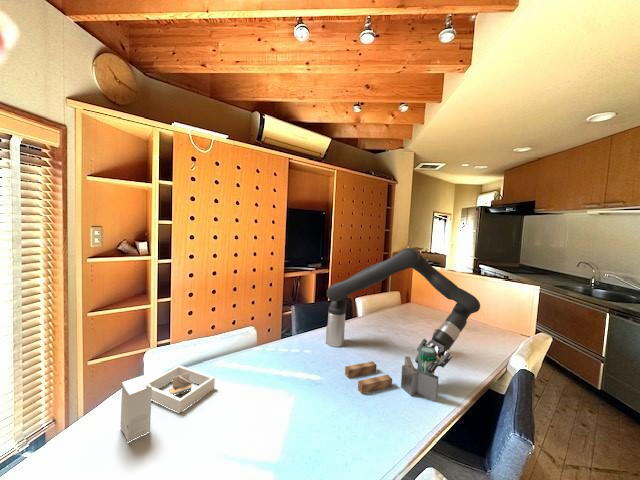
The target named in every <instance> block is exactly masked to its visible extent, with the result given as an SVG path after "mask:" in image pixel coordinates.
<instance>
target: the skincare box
mask: <svg viewBox="0 0 640 480" xmlns="http://www.w3.org/2000/svg"><path fill="white" fill-rule="evenodd" d="M148 382H149V380H148V379H146V378H145V375H140V376H138V377H133V378H131V379H128V380H125V381H122V382H121V384H122V385H121V405H120V407H121V408H120V409H121V410H120V427H121V429H122V430H121V429H120V430H121V432H122V431H123V432H124V434H125V436H124V438H125V437H126V438H125V440H126V439H127V441H126V443H127V442H129V441H131V440H133V439H135V438H137V437H139V436H141V435H144V434H146V433H147V432H150V433H151V419H152V418H151V414H152V402H151V397H152V386H151V385H150V384H149V383H148ZM120 427H119V428H120ZM123 432H122V433H123ZM124 434H123V435H124ZM146 435H147V434H146ZM144 436H145V435H144Z"/></svg>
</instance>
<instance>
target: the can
mask: <svg viewBox="0 0 640 480" xmlns="http://www.w3.org/2000/svg"><path fill="white" fill-rule="evenodd" d="M418 347H419V351H418V350H417V352H418V353H417V354H418V355H417V356H418V364H417V368H416V369H419V370H421V371H424V372H427V373H430V372H429V371H428V368H429V366H430V365H431V364H432V362H433V363H434V359H435V354H436V351H435V350H434V349H433V348H432V347H429V346H419V345H418ZM430 374H432V375H435V371H434V372H433V373H430Z"/></svg>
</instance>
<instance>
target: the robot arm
mask: <svg viewBox="0 0 640 480" xmlns="http://www.w3.org/2000/svg"><path fill="white" fill-rule="evenodd" d="M408 269H413V270H414V271H416V272H417V273H419V274H421V276H423V278H425V280H426V281H427V282H428V283H429V284H430V285H431V286H432V287H433V288H434V289H435V290H436V291H437V292H439V293H440V294H441V295H442V296H443V297H445V298H446V299H447V300H450V301H453V302H455V305H454V307H453V308H452V311H451V312H450V314H449V315H448V316H447V318H446V319H445V320H444V321H443V323H442V324H440V326H439V327H438V328H437V329H438V330H437V331H436V332H435V334H434V335H433V334H432V337H431V339H430V340H427V339H426V338H423V339H422V341H421V342H420V344H419V345H418V347H417V349H416V350H417V352H418V351H419V346H429V347H432V348H433V349H434V350H435V351H436V354H435V359H434V363H433V362H432V364H431V365H430V366H429V368H428V371H429V372H430V373H433V372H434V373H435V371H436V369H438V367H441V368H443V369H444V367H446V365H447V364H448V363H449V362H450V361H451V360H452V359H453V356H452V354H451V353H450V352H448V351H449V350H450V349H451V347H452V346H453V345H454V343H455V342H456V340H457V339H458V338H459V336H460V334H461V333H462V332H463V330H464V329H465V327H466V325H467V323H468V322H467V320H468V318H469V317H470V316H471V315H472V314H475V313H477V312H479V311H480V309H481V303H480V301H479V299H478V298H477V297H475V296H474V295H473V294H472V293H469V292H468V291H466V290H464V289H463V288H460V287H458V285H457V284H455V283H454V282H453V281H451V280H450V279H449V278H448V277H446V276H445V275H444V274H442V273H441V272H440V271H438V270H437V269H436V268H435V267H434V266H432V265H431V263H429V262H428V261H427V260H426V259H425V257H423V256H422V255H421V253H419V251H418V250H417V249H415V248H413V247H406V248H403V249H402V250H400V251H399V252H397V253H396V254H394V255H393V256H391V257H389V258H387V259H386V260H383V261H379V262H377V263H374V264H372V265H369V266H368V267H365V268H363V269H362V270H361V269H360V270H359V272H356V273H355V274H353V275H352V276H350V277H348V278H347V279H345V280H343V281H340V282H338V281H337V282H336V283H333V284H331V285H329V287H328V288H327V291H326V297H327V299H329V300H330V301H331V302H330V303H329V306H328V316H327V317H328V318H327V325H326V330H325V331H326V332H325V333H326V334H325V344H327V345H329V346H330V347H333V348H338V347H340V348H341V347H343V346H344V344H345V327H346V309H347V306H348V298H349V297H348V296H350V295H351V294H353V293H356V292H358V291H362V290H364V289H367V288H370V287H372V286H375V285H377V284H379V283H381V282H383V281H384V280H386V279H387V278H388V279H389V277H390V276H392V275H394V274H396V273H400V272H401V271H406V270H408ZM442 355H444V356H442ZM414 362H415V363H416V364H417V365H418V355H417V357H416V358H415V359H414Z"/></svg>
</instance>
